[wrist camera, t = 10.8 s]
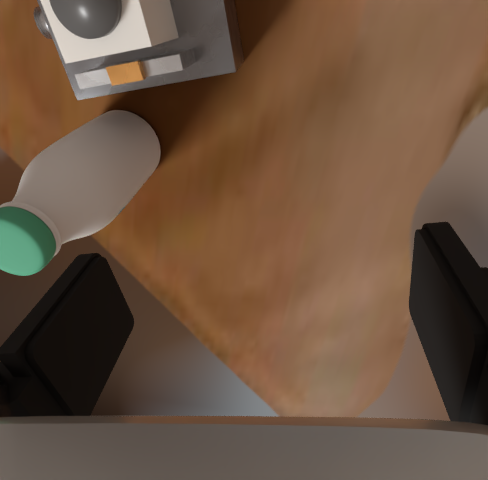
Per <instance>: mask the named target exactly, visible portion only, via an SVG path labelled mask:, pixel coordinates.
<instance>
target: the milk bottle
mask: <svg viewBox="0 0 488 480" xmlns="http://www.w3.org/2000/svg"><path fill="white" fill-rule="evenodd" d="M160 155H161V150H160V144H159V140H158V138H157V136H156V134H155V132H154V130H153V129H152V128H151V126H150V125H149V124H148V123H147V122H146V121H145V120H144V119H142V118H141V117H139V116H138V115H136V114H134V113H131V112H128V111H124V110H112V111H108V112H106V113H104V114H102V115H100V116H98V117H96V118H94V119H93V120H91V121H89V122H88V123H86V124H84V125H83V126H81V127H79V128H78V129H76V130H74V131H73V132H71V133H69V134H68V135H66V136H64V137H63V138H61V139H60V140H58V141H56V142H55V143H53V144H52V145H50V146H49V147H47V148H46V149H45V150H43V151H42V152H40V153H39V154H38V155H37V156H36V157H35V158H34V159H33V160H32V161H31V162H30V164H29V165H28V166H27V168H26V170H25V171H24V173H23V175H22V178H21V181H20V184H19V187H18V191H17V193H16V196H15V197H14V199H13V201H12V202H7V203H4V204H2V205H0V269H1V270H3V271H6V272H9V273H11V274H15V275H24V276H25V275H32V274H35V273H37V272H38V271H40V270H42V269H43V268H44V267H45V266H46V265H47V264H48V263H49V262H50V260H51V259H52V258H53V257H54V256H55V255H56V254H57V253H58V252H59V250H60V247H61V244H63V243H65V242H67V241H70V240H74V239H78V238H82V237H85V236H88V235H91V234H93V233H95V232H97V231H99V230H101V229H102V228H104V227H105V226H107V225H108V224H109V223H110V222H111V221H112V220H113V219H114V218H115V217H116V216H117V215H118V214H119V213H120V212H121V211H122V210H123V209H124V207H125V206H126V205H127V204H128V203H129V201H130V200H131V199H132V198H133V197H134V196H135V194H136V193H137V192H138V191H139V189H140V188H141V187H142V186H143V185H144V183H145V182H146V181H147V180H148V178H149V177H150V176H151V175H152V173H153V172H154V171H155V169H156V168H157V166H158V164H159V161H160Z"/></svg>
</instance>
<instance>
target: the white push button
mask: <svg viewBox="0 0 488 480" xmlns="http://www.w3.org/2000/svg"><path fill="white" fill-rule="evenodd" d="M40 1H41V3H42V6H43V8H44V11H45V13H46V16H47V18H48V21H49V23H50V26H51V28H52V31H53V33H54V36H55V38H56V41H57V43H58V46H59V49H60V51H61V54H62V56H63V59H64V61H65V64H66V63H71V62H76V61H81V60H86V59H91V58H96V57H101V56H106V55H111V54H116V53H121V52H126V51H131V50H136V49H141V48H146V47H151V46H154V45H158V44H161V43H164V42H167V41H170V40H173V39H176V38H179V37H178V33H177V29H176V25H175V20H174V16H173V12H172V8H171V4H170V0H40Z"/></svg>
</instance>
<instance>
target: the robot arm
mask: <svg viewBox="0 0 488 480" xmlns="http://www.w3.org/2000/svg"><path fill="white" fill-rule="evenodd" d="M409 310H410V314H411V317H412V320H413V323H414V325H415V327H416V330H417V333H418V336H419V339H420V341H421V344H422V346H423V349H424V352H425V354H426V357H427V360H428V362H429V365H430V367H431V370H432V373H433V376H434V378H435V381H436V384H437V386H438V389H439V391H440V394H441V397H442V399H443V402H444V405H445V407H446V410H447V413H448V415H449V418H450V420H451V421H442V420H427V419H393V418H355V417H260V416H258V417H254V416H246V417H245V416H90V415H91V413H92V411H93V409H94V407H95V405H96V402H97V400H98V398H99V396H100V394H101V392H102V390H103V388H104V386H105V384H106V382H107V380H108V378H109V376H110V374H111V371H112V370H113V367H114V365H115V364H116V362H117V359H118V357H119V355H120V353H121V351H122V349H123V347H124V345H125V343H126V341H127V338H128V337H129V335H130V333H131V331H132V329H133V326H134V318H133V315H132V313H131V311H130V309H129V307H128V305H127V303H126V301H125V298H124V296H123V294H122V292H121V290H120V287H119V285H118V283H117V281H116V279H115V277H114V275H113V272H112V270H111V268H110V266H109V264H108V262H107V260H106V259H105V258H104V257H102V256H101V255H100V254H98V253H91V254H81V255H79V256H77V257H76V258H75V259H74V261H73V262H72V263H71V264H70V265H69V267H68V268H67V269H66V270H65V271H64V273H63V274H62V275H61V276H60V277H59V278H58V280H57V281H56V282H55V283H54V284H53V286H52V287H51V288H50V289H49V290H48V292H47V293H46V294H45V295H44V296H43V298H42V299H41V300H40V301H39V302H38V303H37V305H36V306H35V307H34V308H33V309H32V310H31V312H30V313H29V314H28V315H27V316H26V318H25V319H24V320H23V321H22V322H21V323H20V325H19V326H18V327H17V328H16V329H15V331H14V332H13V333H12V334H11V335H10V337H9V338H8V339H7V340H6V341H5V342H4V344H3V345H2V346H1V347H0V361H1V362H0V480H488V268H486V267H485V268H480V267H479V265H478V264H477V262H476V261H475V259H474V258H473V257H472V255H471V254H470V252H469V251H468V250H467V248H466V247H465V245H464V244H463V242H462V241H461V240H460V238H459V237H458V235H457V234H456V232H455V231H454V230H453V228H452V227H451V225H450V224H449V223H448V222H439V223H427V224H424V225H423V227H422V229H421V230H416V232H415V238H414V250H413V261H412V273H411V285H410V296H409Z"/></svg>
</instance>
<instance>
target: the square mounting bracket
mask: <svg viewBox="0 0 488 480" xmlns="http://www.w3.org/2000/svg"><path fill="white" fill-rule="evenodd" d="M37 1H38V4H39V6H38V7H36V8H35V9H34V19H35V22H36V24H37V27H38V28H39V30H40V32H41V33H42V34H43V35H44V36H45V37H46V38H48V39H53V41H54V43H55V46H56V48H57V51H58V53H59V56H60V58H61V61H62V63H63V66H64V68H65V71H66V73H67V76H68V78H69V81H70V83H71V86H72V88H73V91H74V93H75V96H76V98H77V100H82V99H87V98H93V97H98V96H104V95H110V94H115V93H121V92H126V91H132V90H138V89H143V88H149V87H154V86H160V85H166V84H171V83H177V82H182V81H188V80H193V79H199V78H205V77H210V76H216V75H221V74H227V73H233V72H236V71H237V70H238V69H239V67H240V66H241V65H242V64H243V62H244V57H243V50H242V44H241V38H240V32H239V25H238V19H237V13H236V7H235V0H170V4H171V8H172V12H173V16H174V20H175V25H176V29H177V33H178V37H179V38H176V39H173V40H170V41H167V42H164V43H161V44H158V45H154V46H151V47H146V48H141V49H136V50H131V51H126V52H121V53H116V54H111V55H106V56H101V57H96V58H91V59H86V60H81V61H76V62H71V63H66V64H65V61H64V59H63V56H62V54H61V51H60V49H59V46H58V43H57V41H56V38H55V36H54V33H53V31H52V28H51V26H50V23H49V21H48V18H47V16H46V13H45V11H44V8H43V6H42V3H41V1H40V0H37Z"/></svg>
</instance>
